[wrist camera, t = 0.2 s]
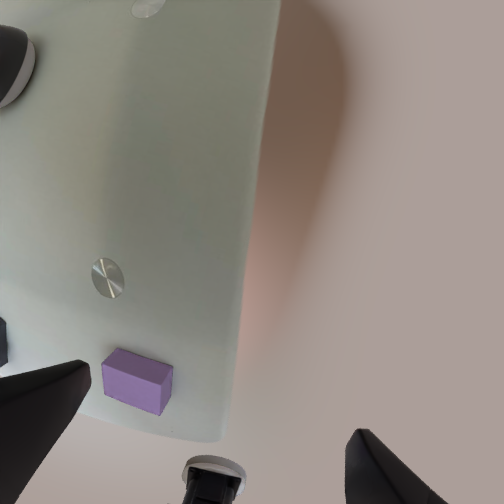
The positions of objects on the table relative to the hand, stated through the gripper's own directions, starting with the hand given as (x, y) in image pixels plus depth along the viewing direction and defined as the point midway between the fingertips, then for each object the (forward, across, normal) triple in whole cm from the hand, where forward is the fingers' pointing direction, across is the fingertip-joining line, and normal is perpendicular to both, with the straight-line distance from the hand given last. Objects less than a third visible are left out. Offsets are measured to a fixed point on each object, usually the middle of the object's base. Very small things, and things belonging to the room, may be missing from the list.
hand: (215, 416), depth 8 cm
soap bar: (+15, +9, +12) cm, 21 cm away
